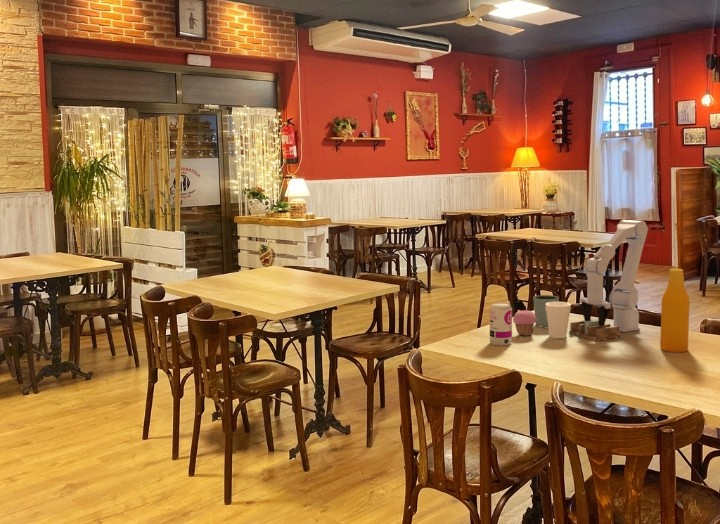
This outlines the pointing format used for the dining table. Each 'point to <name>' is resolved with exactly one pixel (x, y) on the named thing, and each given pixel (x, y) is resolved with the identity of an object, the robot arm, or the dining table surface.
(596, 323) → the grey-green rectangular block
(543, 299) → the grey-green pot
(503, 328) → the supplement can
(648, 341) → the dining table surface
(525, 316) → the cupcake
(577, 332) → the rack
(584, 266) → the robot arm
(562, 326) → the foam cup
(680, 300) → the beer bottle
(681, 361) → the dining table surface
